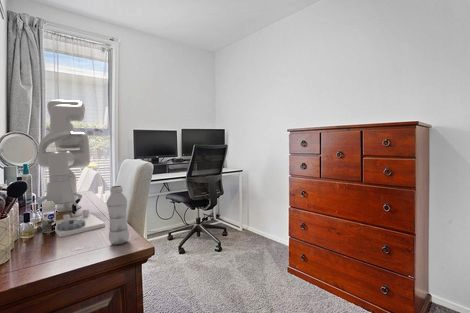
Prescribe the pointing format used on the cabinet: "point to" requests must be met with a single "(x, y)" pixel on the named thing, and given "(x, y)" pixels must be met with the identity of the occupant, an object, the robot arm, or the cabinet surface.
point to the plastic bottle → (117, 216)
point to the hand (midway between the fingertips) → (61, 215)
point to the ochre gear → (60, 215)
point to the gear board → (88, 225)
